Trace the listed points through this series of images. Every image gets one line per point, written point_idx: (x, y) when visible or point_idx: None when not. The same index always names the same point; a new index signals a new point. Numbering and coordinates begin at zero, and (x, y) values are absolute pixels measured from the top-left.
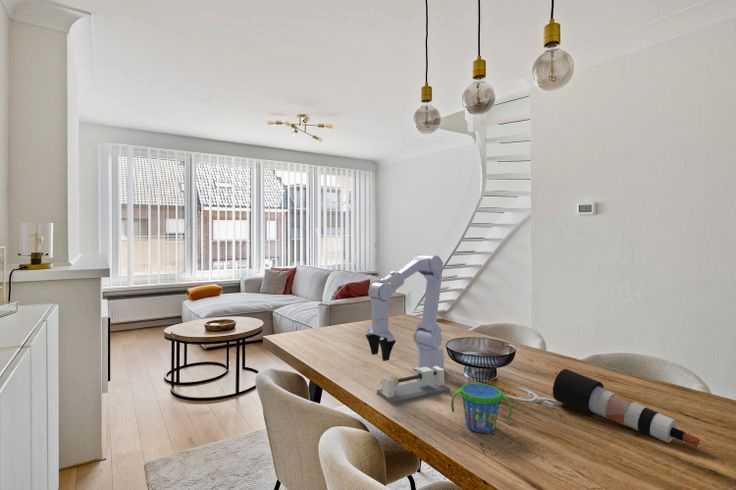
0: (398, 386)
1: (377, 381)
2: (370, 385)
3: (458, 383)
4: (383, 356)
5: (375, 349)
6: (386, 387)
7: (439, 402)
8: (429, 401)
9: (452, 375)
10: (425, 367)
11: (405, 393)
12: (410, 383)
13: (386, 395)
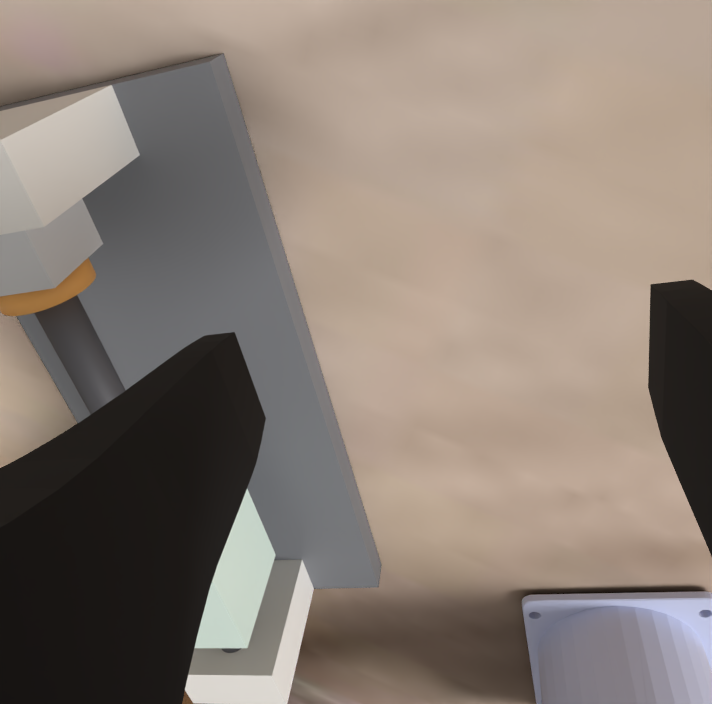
0: (270, 314)
1: (583, 186)
2: (495, 58)
3: (305, 658)
4: (152, 376)
5: (679, 409)
6: None
7: (14, 449)
8: (30, 405)
9: (448, 697)
10: (224, 635)
11: (96, 304)
12: (315, 429)
13: (19, 107)
